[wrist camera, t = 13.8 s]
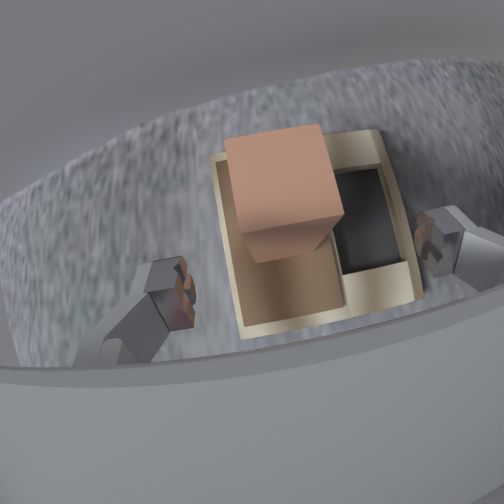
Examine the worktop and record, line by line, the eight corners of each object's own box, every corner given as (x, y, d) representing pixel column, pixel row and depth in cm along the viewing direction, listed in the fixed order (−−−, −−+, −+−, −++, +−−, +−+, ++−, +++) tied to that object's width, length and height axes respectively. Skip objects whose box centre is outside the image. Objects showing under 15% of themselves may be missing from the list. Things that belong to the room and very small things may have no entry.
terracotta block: (299, 199, 26) (318, 123, 14) (311, 252, 25) (344, 214, 13) (245, 209, 26) (223, 139, 14) (256, 263, 25) (240, 233, 13)
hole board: (374, 136, 28) (379, 126, 26) (417, 298, 26) (426, 298, 24) (212, 162, 29) (208, 153, 27) (242, 337, 26) (240, 340, 24)
